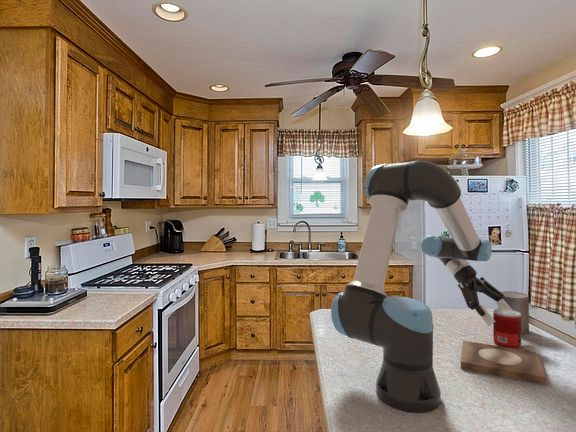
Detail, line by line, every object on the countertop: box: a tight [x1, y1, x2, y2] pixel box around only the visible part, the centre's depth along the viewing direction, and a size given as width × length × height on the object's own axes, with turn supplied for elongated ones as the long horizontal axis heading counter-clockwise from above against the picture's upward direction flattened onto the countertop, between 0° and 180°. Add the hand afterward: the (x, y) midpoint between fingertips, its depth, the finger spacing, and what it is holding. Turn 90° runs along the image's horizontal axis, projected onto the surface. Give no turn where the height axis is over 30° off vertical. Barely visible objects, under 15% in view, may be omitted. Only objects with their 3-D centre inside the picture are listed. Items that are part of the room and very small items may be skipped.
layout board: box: [460, 340, 547, 386], centre depth 103 cm, size 20×18×2 cm
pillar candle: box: [497, 290, 530, 335], centre depth 130 cm, size 10×10×15 cm
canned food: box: [492, 308, 522, 349], centre depth 117 cm, size 8×8×11 cm
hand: (502, 320), depth 119 cm, fingers open, 13 cm apart
